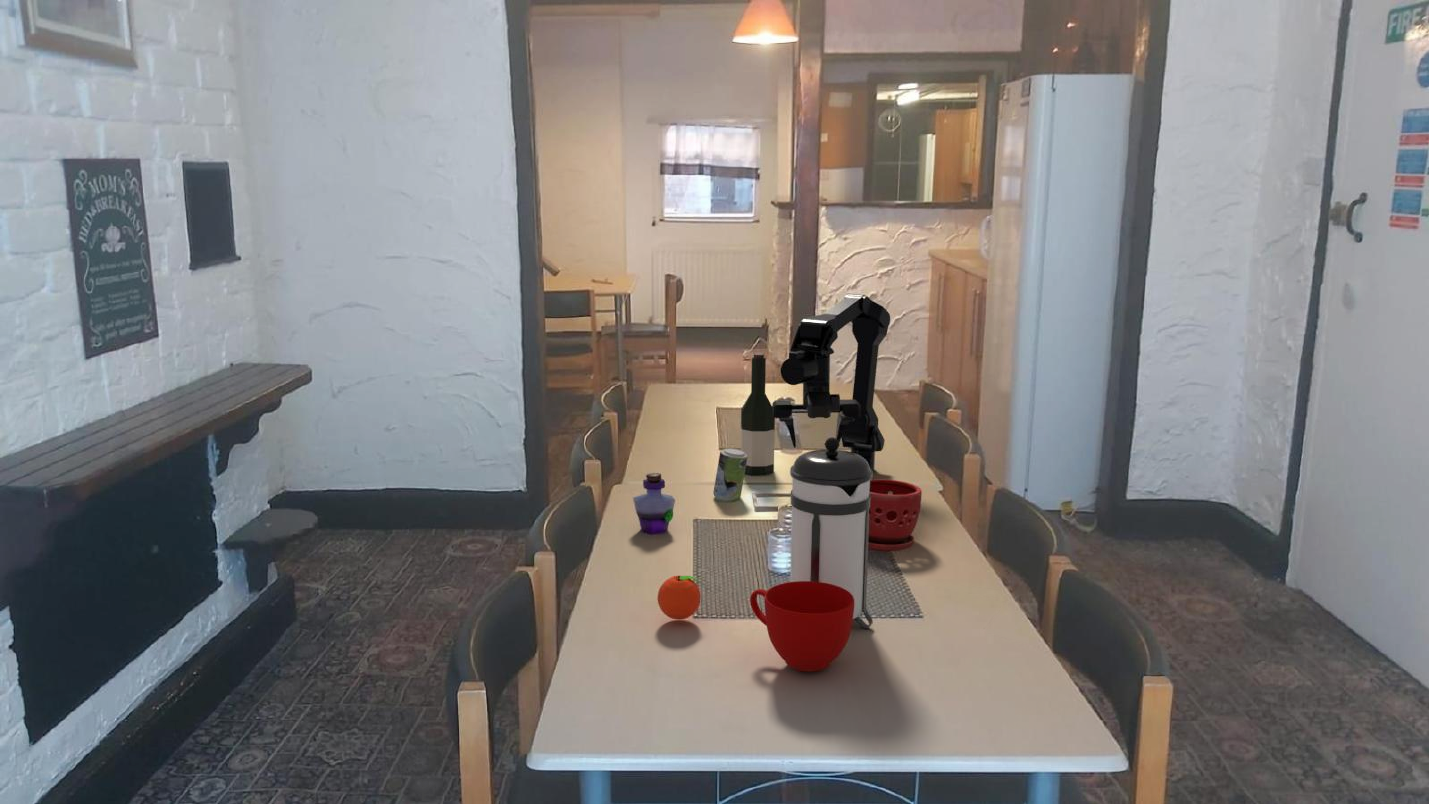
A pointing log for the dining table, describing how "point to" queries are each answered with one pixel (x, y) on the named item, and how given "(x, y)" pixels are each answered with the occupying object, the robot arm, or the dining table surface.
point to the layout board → (770, 508)
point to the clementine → (679, 597)
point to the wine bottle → (758, 424)
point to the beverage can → (730, 475)
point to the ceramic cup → (806, 622)
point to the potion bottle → (654, 506)
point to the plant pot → (892, 514)
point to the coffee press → (831, 521)
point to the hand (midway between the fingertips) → (815, 447)
